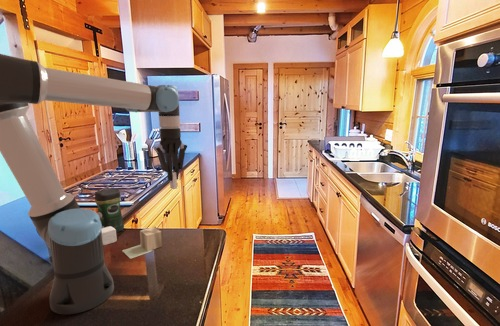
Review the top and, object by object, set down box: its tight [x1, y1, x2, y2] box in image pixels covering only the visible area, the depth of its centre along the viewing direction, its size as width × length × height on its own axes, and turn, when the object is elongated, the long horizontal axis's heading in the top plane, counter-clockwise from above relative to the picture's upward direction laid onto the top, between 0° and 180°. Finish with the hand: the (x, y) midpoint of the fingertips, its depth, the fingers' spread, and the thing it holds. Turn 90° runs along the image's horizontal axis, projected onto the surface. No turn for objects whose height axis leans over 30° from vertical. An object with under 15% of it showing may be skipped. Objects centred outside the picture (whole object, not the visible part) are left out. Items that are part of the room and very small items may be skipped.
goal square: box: [121, 244, 153, 260], centre depth 102 cm, size 8×8×1 cm
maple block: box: [139, 226, 164, 251], centre depth 105 cm, size 6×6×6 cm
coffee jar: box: [94, 187, 125, 233], centre depth 117 cm, size 10×8×19 cm
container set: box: [101, 226, 117, 246], centre depth 103 cm, size 20×5×6 cm, turn 138°
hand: (173, 188), depth 109 cm, fingers closed
